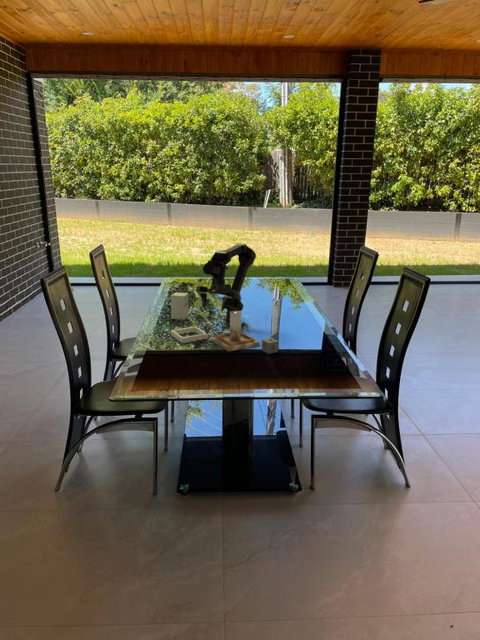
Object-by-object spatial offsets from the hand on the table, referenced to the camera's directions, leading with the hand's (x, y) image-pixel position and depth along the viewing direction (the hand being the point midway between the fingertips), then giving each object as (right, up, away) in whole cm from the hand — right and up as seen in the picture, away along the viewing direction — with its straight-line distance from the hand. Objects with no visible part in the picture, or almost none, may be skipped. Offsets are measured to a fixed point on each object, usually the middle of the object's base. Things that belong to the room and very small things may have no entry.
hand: (213, 309), depth 244 cm
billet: (+11, -14, -14) cm, 22 cm away
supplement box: (-19, -4, +23) cm, 30 cm away
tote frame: (-11, -13, -7) cm, 18 cm away
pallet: (+11, -15, -14) cm, 23 cm away
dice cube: (+26, -19, -23) cm, 39 cm away
